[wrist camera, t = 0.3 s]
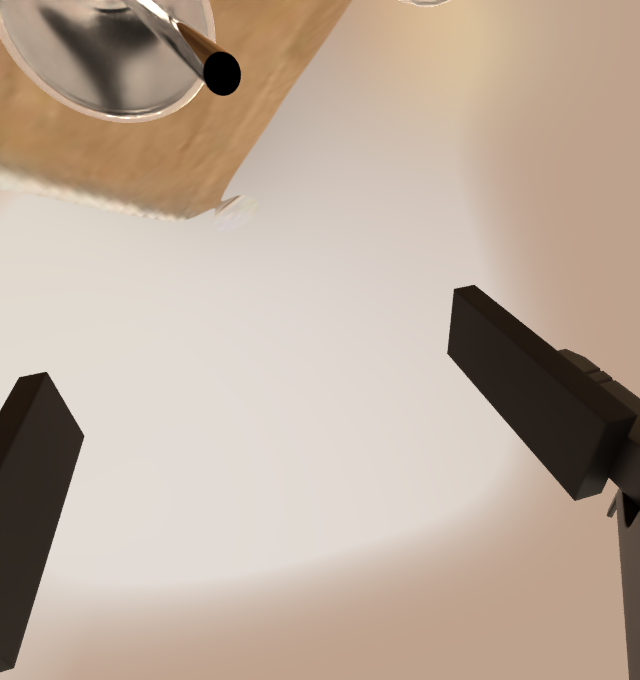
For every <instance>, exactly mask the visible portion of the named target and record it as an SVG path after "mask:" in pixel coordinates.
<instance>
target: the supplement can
mask: <svg viewBox="0 0 640 680" xmlns="http://www.w3.org/2000/svg"><path fill="white" fill-rule="evenodd" d="M398 1H399V2H401V3H409V4H413V5H415V6H417V7H436V6H439V5H441V4H443V3H446V2H448V1H451V0H398Z"/></svg>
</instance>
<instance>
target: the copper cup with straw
mask: <svg viewBox="0 0 640 680" xmlns="http://www.w3.org/2000/svg"><path fill="white" fill-rule="evenodd" d="M0 38H1V40H2V42H3V44H4V46H5V47H6V49H7V50H8V52H9V54H10V55H11V56H12V58H13V59H14V61H15V62H16V63H17V64H18V66H19V67H20V68H21V69H22V70H23V72H24V73H25V74H26V75H27V76H28V77H29V78H30V79H31V80H32V81H33V82H34V83H35V84H37V85H38V86H39V87H40V88H41V89H42V90H44V91H45V92H46V93H48V94H49V95H50V96H52V97H53V98H55V99H56V100H58V101H59V102H61V103H63V104H64V105H66V106H68V107H70V108H72V109H74V110H76V111H79V112H81V113H83V114H86V115H89V116H92V117H95V118H98V119H103V120H107V121H113V122H123V123H136V122H145V121H151V120H155V119H158V118H161V117H164V116H167V115H169V114H171V113H173V112H175V111H177V110H178V109H180V108H181V107H183V106H184V105H185V104H186V103H188V102H189V101H190V100H191V99H192V98H193V97H194V96H195V95H196V93H197V92H198V91H199V90H200V88H201V87H202V85H203V84H205V85H206V86H207V87H208V88H209V89H210V90H211V91H212V92H213V93H215V94H217V95H221V96H226V95H229V94H231V93H233V92H234V91H235V90H236V89H237V87H238V86H239V83H240V79H241V71H240V67H239V64H238V62H237V61H236V59H235V58H234V57H233V56H232V55H231V54H229V53H228V52H226V51H225V50H224V49H222V48H221V47H219V46H218V45H217V44H215V26H214V19H213V14H212V10H211V6H210V3H209V0H0Z"/></svg>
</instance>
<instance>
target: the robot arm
mask: <svg viewBox="0 0 640 680" xmlns="http://www.w3.org/2000/svg"><path fill="white" fill-rule="evenodd" d="M447 354H448V355H449V356H450V357H451V358H452V359H453V361H454V362H455V363H456V364H457V365H458V366H459V368H460V369H461V370H462V371H463V372H464V373H465V375H466V376H467V377H468V378H469V379H470V380H471V381H472V383H473V384H474V385H475V386H476V387H477V388H478V390H479V391H480V392H481V393H482V394H483V395H484V396H485V398H486V399H487V400H488V401H489V402H490V403H491V405H492V406H493V407H494V408H495V409H496V410H497V412H498V413H499V414H500V415H501V416H502V417H503V418H504V420H505V421H506V422H507V423H508V424H509V425H510V427H511V428H512V429H513V430H514V431H515V432H516V434H517V435H518V436H519V437H520V438H521V439H522V440H523V442H524V443H525V444H526V445H527V446H528V447H529V448H530V450H531V451H532V452H533V453H534V454H535V456H536V457H537V458H538V459H539V460H540V461H541V462H542V464H543V465H544V466H545V467H546V468H547V469H548V471H549V472H550V473H551V474H552V475H553V476H554V477H555V479H556V480H557V481H558V482H559V483H560V484H561V486H562V487H563V488H564V489H565V490H566V491H567V493H569V495H570V496H571V497H572V498H573V499H574V500H575V501H576V500H580V499H583V498H586V497H590V496H593V495H597V494H600V493H601V492H602V490H603V488H604V486H605V484H606V482H607V480H608V478H610V479H611V480H612V481H613V482H614V483H615V484H616V485H617V486H618V487H619V489H618V491H617V493H616V495H615V497H614V499H613V501H612V503H611V505H610V507H609V510H608V513H607V516H608V517H612V516H613V514H614V513H615V511H616V510H617V519H618V532H619V547H620V561H621V574H622V588H623V602H624V615H625V629H626V642H627V655H628V669H629V680H640V398H638V397H637V396H636V395H634V394H633V393H632V392H630V391H629V390H628V389H626V388H625V387H624V386H622V385H621V384H620V383H618V382H617V381H613V380H612V377H610V376H609V375H608V374H607V373H605V372H604V371H600V368H599V367H597V366H596V365H595V364H593V363H592V362H591V361H589V360H588V359H587V358H585V357H583V356H581V355H579V354H576V353H574V352H572V351H570V350H567V349H563V350H559V351H557V350H555V349H554V348H553V347H552V346H550V345H549V344H548V343H547V342H545V341H544V340H543V339H542V338H541V337H539V336H538V335H537V334H535V333H534V332H533V331H532V330H531V329H529V328H528V327H527V326H525V325H524V324H523V323H522V322H520V321H519V320H518V319H516V318H515V317H514V316H513V315H512V314H510V313H509V312H508V311H507V310H505V309H504V308H503V307H502V306H500V305H499V304H497V302H495V301H494V300H493V299H491V298H490V297H489V296H488V295H486V294H485V293H484V292H483V291H481V290H480V289H479V288H478V287H476V286H475V285H471V286H466V287H462V288H457V289H454V294H453V304H452V314H451V323H450V333H449V343H448V352H447ZM83 439H84V435H83V433H82V431H81V430H80V428H79V426H78V424H77V422H76V421H75V419H74V417H73V416H72V414H71V412H70V411H69V409H68V407H67V405H66V404H65V402H64V400H63V398H62V397H61V395H60V394H59V392H58V390H57V388H56V387H55V385H54V383H53V381H52V380H51V378H50V377H49V375H48V373H47V372H43V373H38V374H34V375H28V376H24V377H19V379H18V380H17V382H16V384H15V386H14V387H13V389H12V391H11V393H10V394H9V396H8V398H7V400H6V401H5V403H4V405H3V407H2V408H1V410H0V672H3V671H6V670H9V669H13V668H14V666H15V663H16V660H17V656H18V653H19V650H20V647H21V643H22V640H23V637H24V633H25V630H26V627H27V623H28V620H29V617H30V614H31V610H32V607H33V604H34V600H35V597H36V594H37V590H38V587H39V584H40V581H41V577H42V574H43V571H44V567H45V564H46V561H47V557H48V554H49V551H50V548H51V544H52V541H53V538H54V534H55V531H56V528H57V524H58V521H59V518H60V515H61V512H62V508H63V505H64V501H65V498H66V495H67V492H68V488H69V485H70V482H71V479H72V475H73V472H74V469H75V465H76V462H77V459H78V456H79V452H80V449H81V446H82V442H83Z"/></svg>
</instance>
